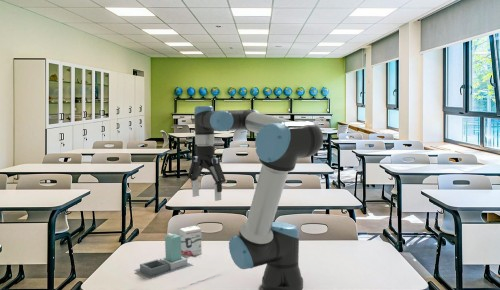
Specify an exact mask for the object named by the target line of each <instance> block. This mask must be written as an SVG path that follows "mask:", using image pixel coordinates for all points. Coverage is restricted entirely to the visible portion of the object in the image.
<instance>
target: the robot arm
mask: <svg viewBox="0 0 500 290" xmlns="http://www.w3.org/2000/svg"><path fill="white" fill-rule="evenodd" d="M193 114H194V116H193V117H194V119H193V120H194V134H195V136H194V142H195V143H194V145H196V146H195V156H194V155H193V156H192V158H191V163H190V168H189V172H188V175H187V179H190V181H191V189H192V197H194V198H195V197H200V193H199V192H200V187H199V183H200V182H199V176H200V174H201V173H202V171H203V169H205V170H207V171H208V172H209V173H210V175H211V177H212V178H213V180H214V187H213V188H214V202H219V201H221V200H222V192H223V188H222V187H223V183H226V181H227V180H226V177H225V175H224V172H223V169H222V166H221V163H220V158H219V157H215V158H214V155H215V153H216V152H215V151H216V149H215V147H216V146H215V145H214V144H215V131H216V132H226V131H233V130H234V131H235V130H236V131H237V130H245V131H249V132H253V133H255V134H257V135H256V136H255V141H254V143H255V144H254V146H255V153H256V155H257V157H258V161H259V163H260V164H261V168H260V171H259V175H258V179H257V183H256V186H255V190H254V192H253V193H254V194H253V197H252V201H251V205H250V207H249V212H248V215H247V220H246V222H244V223H243V224H242V225H240V228H239V231H238V234H237V235H235V234H234V236H232V237H230V239H229V241H228V248H229V254H230V257H231V259H232V261H233V263H234V264H235V266H237V267H238V268H239V269H240V270H247V269H253V268H257V267H260V266H263V265H266V266H265V269H264V273H263V275H262V279H261V286H262V287H261V288H262V289H264V290H302V289H303V288H304V278H303V276H302V273H301V270H300V264H299V250H300V249H299V248H300V247H299V245H300V236H299V234H300V232H299V228H298V227H297V226H296V225H294V224H291V223H287V222H281V221H274V220H275V217H276V215H277V211H278V207H279V203H280V201H281V197H282V194H283V191H284V188H285V185H286V180H287V177H288V173H291V172H293V171H294V170H295V167H296V164H297V161H298V159H306V158H309V157H312V156H314V155H315V154H317V153H318V152H319V151H320V149H321V148H322V146H323V142H324V134H323V131H322V129H321V128H320V126H318V124H316V123H315V122H312V121H306V120H301V119H300V120H299V119H298V120H295V121H293V120H289V119H285V118H280V117H278V116H277V117H276V116H272V115H269V114H265V113H261V112H260V111H259V110H257V109H239V110H237V109H236V110H232V109H230V110H214V107H213V106H212V105H197V106H196V105H195V107H194V113H193Z"/></svg>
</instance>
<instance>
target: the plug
mask: <svg viewBox="0 0 500 290" xmlns="http://www.w3.org/2000/svg"><path fill="white" fill-rule="evenodd" d="M164 245H165V250H164V251H165V257H166V260H167V261H169V262H171V263H172V262H175V261H178V260H181V256H182V253H181V236H180V234H176V233H170V232H169V233H166V235H165V237H164Z"/></svg>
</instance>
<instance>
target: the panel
mask: <svg viewBox="0 0 500 290" xmlns="http://www.w3.org/2000/svg"><path fill="white" fill-rule="evenodd" d="M193 266H194V265H193V264H192V263H189V262H188V258H186V257H184V256H182V255H181V260H178V261H175V262H172V263H171V262H169V261H167V260H166V256H165V257H164V256H163V257H161V258H159V259H154V260H150V261H147V262H143V263H140V264H139V268H137V269H134V271H135V272H137V273H138V274H140V275H143V277H146V278H148V279H149V280H151V279H155V278H157V277H160V276H163V275H167V274H171V273H174V272H176V271H179V270H180V271H181V270H183V269H186V268H188V267H193Z"/></svg>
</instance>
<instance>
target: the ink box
mask: <svg viewBox="0 0 500 290" xmlns="http://www.w3.org/2000/svg"><path fill="white" fill-rule="evenodd" d="M178 231H179V232H178V233H179V234H178V235H179V236H181V255H184V256H185V255H187V256H189V257H193V256H197V255H202V254H203V252H202V228H200V227H199V226H198V225H191V226H186V227H182V228H179V230H178Z"/></svg>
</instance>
